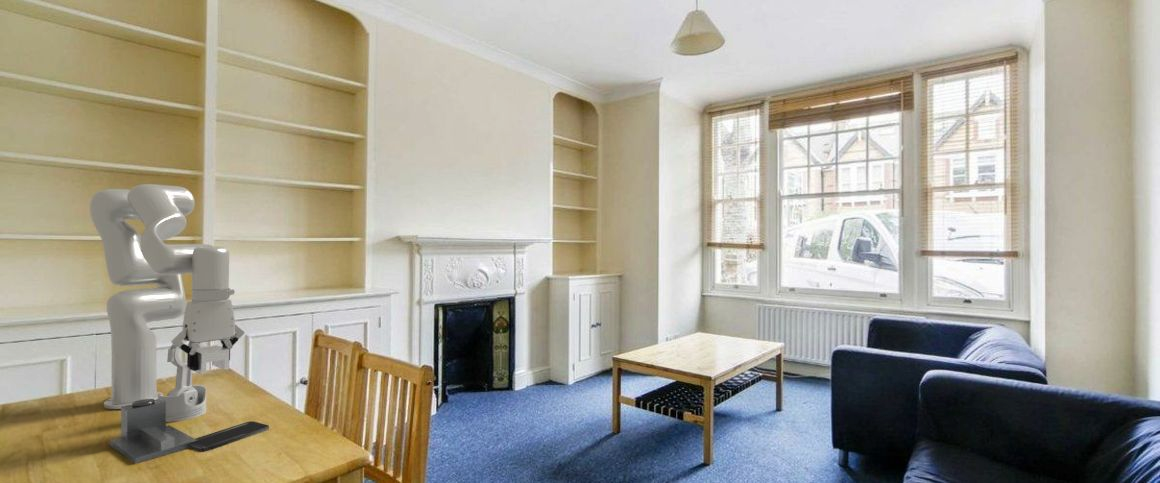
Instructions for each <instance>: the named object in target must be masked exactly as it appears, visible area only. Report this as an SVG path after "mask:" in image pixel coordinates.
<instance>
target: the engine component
mask: <svg viewBox="0 0 1160 483" xmlns="http://www.w3.org/2000/svg"><path fill="white" fill-rule="evenodd" d="M182 342H183V343H184V344H185V343H187V341H186V340H182ZM171 344H172V345H171V346H170V348H168V351H167V359H166V362H167V363H171V364H172V365H174V367H176V374H175V388H173V389H172V390H170V391H168V392H167V395H163V396H161V395H160V394H158V399H161V400H163V401H165V402H166V423H171V422H182V421H188V420H189V419H190V420H191V419H194V418H197V417H200V416H202V415H204V414H206V412H207V387H206V385H204V384H203V385H202V384H192V383H193V372H194V371H193V370H190V369H189V367H188V366H187V360H186V361H185V362H183V361H182V360H181V358H180V355H179V352H180V350H181V349H180V348H179V347H177V346H176V345H174V344H173V343H171ZM201 347H205V345H204V344H203V342H202V343H200V344H199V346H198V348H201Z"/></svg>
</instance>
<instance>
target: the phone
mask: <svg viewBox="0 0 1160 483" xmlns="http://www.w3.org/2000/svg"><path fill="white" fill-rule="evenodd" d="M269 429H270V426H269V424H266V423H260V422H257V421H250V420H249V421H245V422H243V423H240V424H236V425H234V426H230V427H228V428H224V429H221V430H218V431H215V432H214V431H213V432H211V433H208V434H205V435H202V436H199V437H195V438H194V439H196V440H198V443H196V444H191V448H190V449H192V450H193V449H194V450H196V451H199V452H208V451H212V450H215V449H217V448H221V447H223V446H226V445H229V444H232V443H235V442H238V441H240V440H243V439H247V438H249V437H252V436H255V435H258V434H260V433H264V432H266V431H269Z"/></svg>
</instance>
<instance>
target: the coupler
mask: <svg viewBox="0 0 1160 483" xmlns="http://www.w3.org/2000/svg"><path fill="white" fill-rule="evenodd" d="M196 443H198V440H196V439H195V438H194V437H193V436H191V435H188V434H186V433H185V432H183V431H181V430H179V429H177V428H175V427H173V426H172V425H167V422H166V402H165V401H163V400H161V399H143V400H139V401H135V402H133V403H132V405H127V406H122V407H121V409H120V437H116V438H113V439H109V444H108V446H109V447H111V448H113V449H114V450H115V451H117V452H118V453H120V454H121V455H123V457H125V458H126V459H128V460H129V461H131V462H132V463H133V464H135V465H137V464H139V463H143V462H146V461H149V460H154V459H157V458H160V457H164V456H167V455H171V454H173V453H177V452H182V451H184V450H188V449H192V448H191V444H196ZM163 455H164V456H163ZM159 456H160V457H159ZM153 458H154V459H153Z"/></svg>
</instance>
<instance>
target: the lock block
mask: <svg viewBox="0 0 1160 483" xmlns="http://www.w3.org/2000/svg"><path fill="white" fill-rule="evenodd" d="M196 354H197V355H198V370H197V371H194V372H195V373H197V374H200V375H204V374H207V364H208V363H211V365H212V366H214V367H216V368H219V369H222V370H224V371H225V370H229V369H230V360H229V349H227V348H224V347H222V346H221V345H218V344H216V345H208V346H204V347H201V348H197V351H196ZM190 370H191V369H190Z"/></svg>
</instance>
